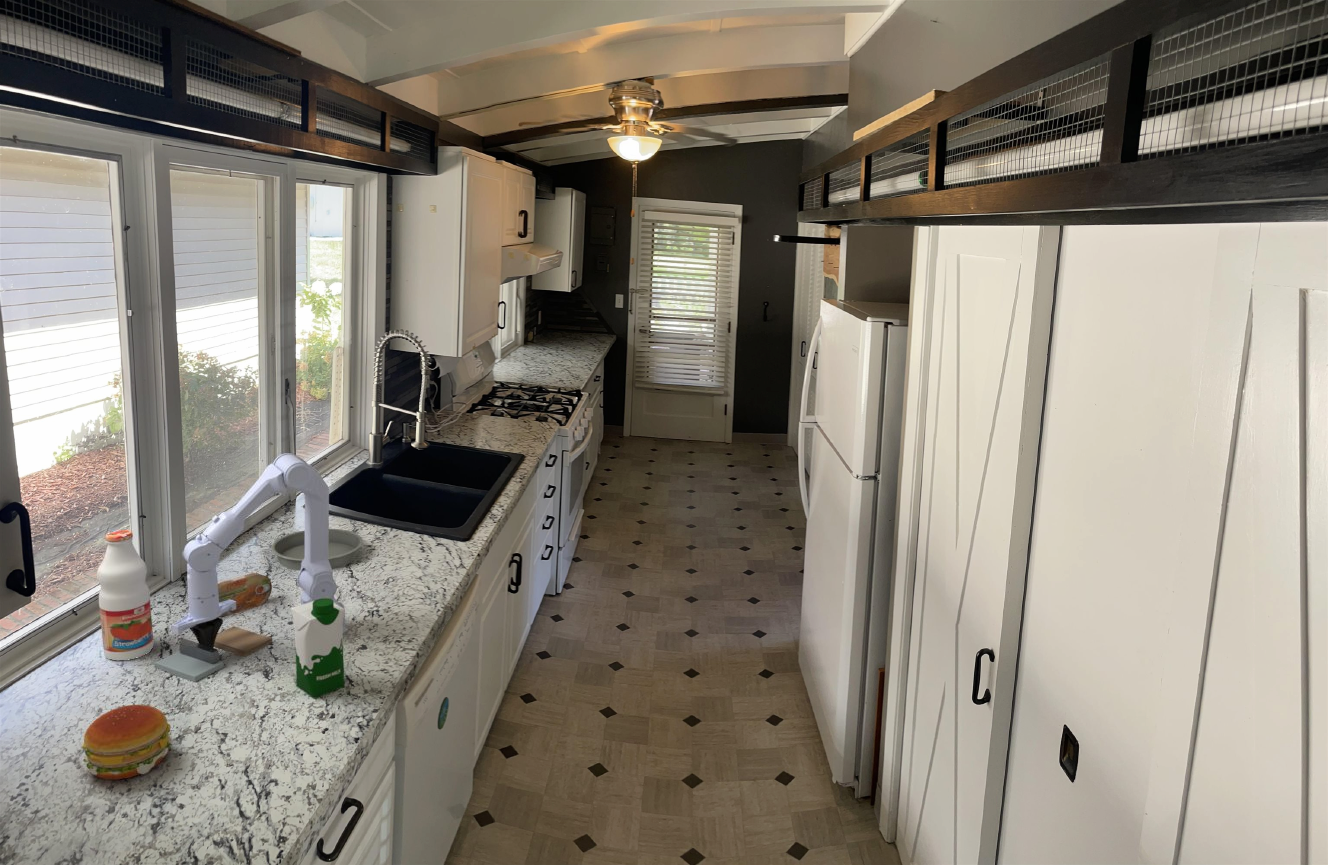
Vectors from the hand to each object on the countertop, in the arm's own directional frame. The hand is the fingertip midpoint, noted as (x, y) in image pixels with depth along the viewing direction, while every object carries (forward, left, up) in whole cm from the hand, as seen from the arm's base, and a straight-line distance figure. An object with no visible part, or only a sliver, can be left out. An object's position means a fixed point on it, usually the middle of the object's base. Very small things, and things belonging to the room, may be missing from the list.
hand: (207, 650), depth 187 cm
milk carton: (-29, -3, -2) cm, 29 cm away
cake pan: (+23, -56, -2) cm, 61 cm away
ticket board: (0, -8, -2) cm, 8 cm away
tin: (+14, -21, -2) cm, 26 cm away
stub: (0, +5, -2) cm, 5 cm away
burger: (-19, +32, -2) cm, 37 cm away
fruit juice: (+17, +6, -2) cm, 18 cm away
